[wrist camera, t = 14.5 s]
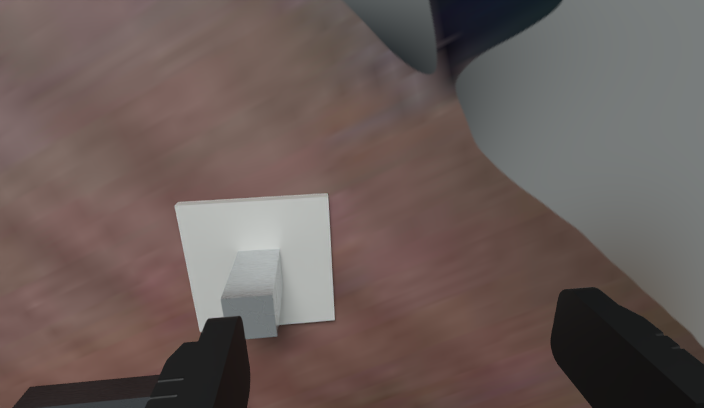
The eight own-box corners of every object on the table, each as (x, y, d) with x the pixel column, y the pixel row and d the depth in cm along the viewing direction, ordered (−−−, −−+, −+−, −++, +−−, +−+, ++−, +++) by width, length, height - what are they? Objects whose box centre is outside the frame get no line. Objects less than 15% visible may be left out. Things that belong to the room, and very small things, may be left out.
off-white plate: (202, 325, 42) (199, 331, 41) (177, 201, 37) (174, 205, 36) (334, 314, 43) (334, 320, 42) (327, 193, 38) (328, 196, 37)
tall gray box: (242, 286, 40) (227, 340, 32) (237, 251, 38) (220, 298, 31) (283, 283, 40) (277, 336, 33) (279, 248, 39) (272, 295, 31)
